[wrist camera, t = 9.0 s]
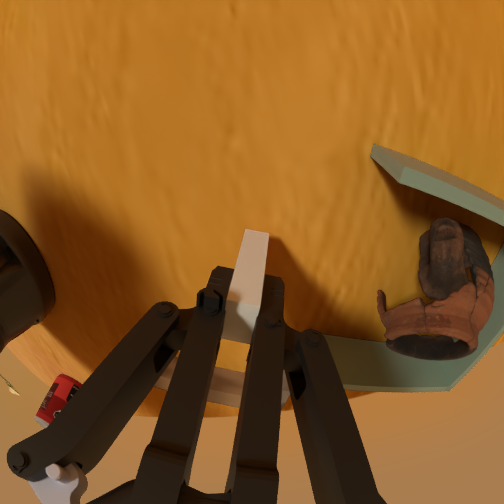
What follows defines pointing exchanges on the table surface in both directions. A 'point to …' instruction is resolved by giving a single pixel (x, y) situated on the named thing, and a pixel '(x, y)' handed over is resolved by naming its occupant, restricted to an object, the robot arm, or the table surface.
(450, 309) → the pottery mug
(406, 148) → the table surface
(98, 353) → the table surface
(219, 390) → the hammer
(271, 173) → the table surface
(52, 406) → the canned food
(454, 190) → the green u-shaped frame
